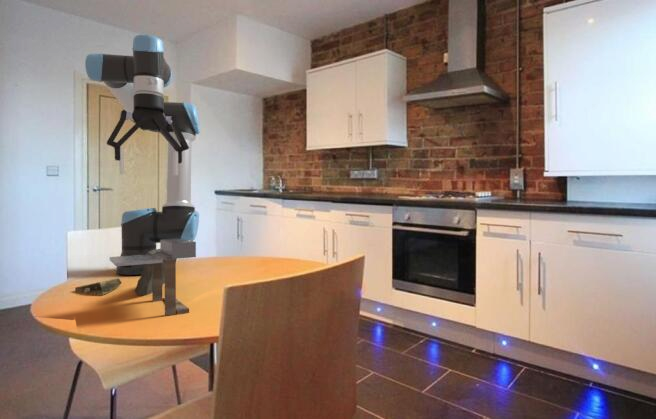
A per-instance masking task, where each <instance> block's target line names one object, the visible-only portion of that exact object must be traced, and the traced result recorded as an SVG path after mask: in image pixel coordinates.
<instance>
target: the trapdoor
mask: <svg viewBox="0 0 656 419" xmlns="http://www.w3.org/2000/svg"><path fill="white" fill-rule="evenodd" d="M159 244H160V248H159V249H160V252H156V254H149V255H133V256H120V255H119V256H109V261H110V262H111V263H112V264H113V265H114V266H115V267H117V266H127V265H140V264H153V263H165V259H186V258H187V259H189V258H197V242H196V241H194V240H193V241H190V240H186V239H162V240H160V243H159Z"/></svg>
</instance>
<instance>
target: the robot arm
mask: <svg viewBox="0 0 656 419" xmlns="http://www.w3.org/2000/svg"><path fill="white" fill-rule="evenodd" d="M131 50H132V55H121V54H107V53H103V52H102V53H89V54H87V55H86V58H85V61H84V62H85V63H84V64H85V65H84V66H85V73H86V75H87V77H88V79H89V80H91V81H94V82H99V83H104V84H105V85H106V87H107V88H108V89H109V91H111V93H112V94H113V96H114V97H115V98H116V99H117V101H118V102H119V103H120V104H121V105H122V107H123V110H122V109H121V111H120V113H119V114H120V115H119V120H118V122H117V123H116V125H115V127H114V129H113V130H112V132H111V134H110V136H109V137H108V138H107V141H106V145H107V146H111V147H112V148H114V161H119V163H118V164H119V168H118V169H119V174H120V175H121V174H122V175H124V173H125V157H124V156H125V155H124V154H125V149H124V147H122V145H124V143H125V142H126V141H127V140H128V139H129V138H131V136H132V135H133V134H134V133H135V132H136V131H137V130H138V129H141V131H149V132H152V133H160V134H161V135H162V136H163V138H164V139H165V140H166V141H167V165H166V166H167V167H166V168H167V170H166V171H167V172H166V176H167V177H166V179H167V180H166V203H164V205H162V206H161V207H162V208H161V211H158V210H157V209H156V207H151V208H150V207H149V208H141V209H134V210H127V211H124V212H123V213H122V214H121V224H120V226H121V253H120V255H119V256H133V255H146V254H147V253H148V252H149V251H152V250H156V249H157V244H160V240H162V239H186V240H190V241H194V240H195V239H196V238H197V234H198V229H199V222H200V219H199V218H200V213H199V212H198V211H196V207H195V205H194V204H192V203H191V202H192V201H191V200H192V199H191V198H192V195H191V194H192V193H191V192H192V143H193V142H194V141H195V140H196V139H197V137H196V135H200V133H201V131H200V130H201V128H200V126H201V125H200V121H199V120H200V119H199V115H198V108H197V107H196V105H195V104H193V103H189V102H173V101H172V102H171V101H165V99H164V97H163V96H165V93H164V92H165V89H164V88H166V87H168V86H169V85H170V84H171V82H172V80H173V72H172V69H171V67H170V65H169V64H168V63H167V61H166V59H165V57H164V56H165V55H164V52H165V49H164V42H163V41H162V39H160V38H159V37H157V36H154V35H150V34H138V35H135V36H134V37H133V42H132V48H131ZM128 120H130V121H131V122H132V123H133V124H134V125H133V126H132V127H131V128H130V129H129V130H128V131H127V132H126V133H125V134H124V135H123V136H122V137H121V138H120V139H119V140H118V141H117V142H116V141H115V139H116V138H117V136H118V134H119V133H120V131H121V129H122V127H123V126H124V124H125V122H126V121H128ZM143 269H144V264H140V265H127V266H116V274H117V275H124V276H125V275H128V276H131V275H142V272H143Z"/></svg>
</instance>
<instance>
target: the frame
mask: <svg viewBox="0 0 656 419" xmlns="http://www.w3.org/2000/svg"><path fill="white" fill-rule="evenodd" d="M155 254H156V253H155ZM176 263H177V260H176V259H165V283H164V297H163V285H162V263H153V264H152V293H151V294H152V302H153V303H154V302H161V301H163V302H164V316H165V317H169V316H176V315H183V314H189V313H190V308H189V307H188V306H186V305H185V304H183V302H181V301H180V300H179V299H177V291H176V290H177V289H176V288H177V284H176V282H177V281H176V280H177V279H176V278H177V277H176V276H177V275H176V268H177V267H176V265H177V264H176Z"/></svg>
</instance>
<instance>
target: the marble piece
mask: <svg viewBox="0 0 656 419" xmlns="http://www.w3.org/2000/svg"><path fill="white" fill-rule="evenodd" d="M156 252H160V248H158V249H157V248H156V250H152V251H149V252H148V253H147V254H146V255H149V254H155V253H156ZM177 259H178V258H177ZM177 259H176V261H177ZM163 285H165V263H162V286H163ZM134 293H135V294H136V295H138V296H140V297H143V296H148V295H150V294H152V264H144V269H143V272H142V274H140V277H139V279H138V281H137V284H136V286H135V288H134Z"/></svg>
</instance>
